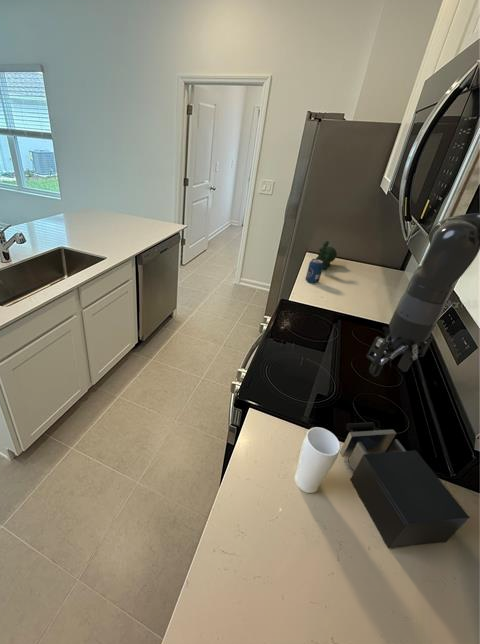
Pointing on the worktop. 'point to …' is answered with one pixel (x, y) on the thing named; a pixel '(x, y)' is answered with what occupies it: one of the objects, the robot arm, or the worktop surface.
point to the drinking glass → (316, 458)
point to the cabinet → (406, 499)
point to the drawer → (368, 442)
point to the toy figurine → (326, 255)
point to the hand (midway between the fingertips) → (387, 371)
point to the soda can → (314, 271)
